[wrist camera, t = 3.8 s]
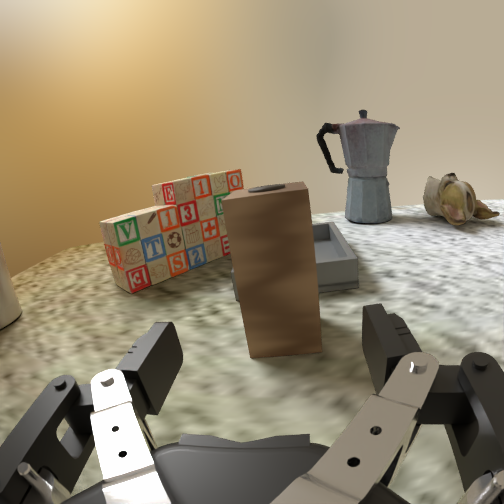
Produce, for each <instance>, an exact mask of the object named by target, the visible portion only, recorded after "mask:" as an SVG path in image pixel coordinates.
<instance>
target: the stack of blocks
mask: <svg viewBox="0 0 504 504" xmlns="http://www.w3.org/2000/svg"><path fill="white" fill-rule="evenodd" d="M152 189H153V195H154V200H155V206H153V207H150V208H146V209H142V210H138V211H134V212H131V213H127V214H124V215H121V216H117V217H114V218H110V219H107V220H104V221H101V222H100V227H101V231H102V235H103V239H104V243H105V244H104V245H105V249H106V253H107V257H108V260H109V264H110V267H111V270H112V274H113V277H114V280H115V283H116V285H118V286H119V287H121V288H123V289H124V290H126V291H127V292H129V293H131V294H132V293H134V292H136V291H139V290H141V289H144V288H146V287H148V286H150V285H154V284H157V283H159V282H162V281H164V280H167V279H169V278H171V277H174V276H176V275H179V274H181V273H184V272H186V271H189V270H191V269H193V268H196V267H198V266H201V265H203V264H205V263H208V262H210V261H213V260H215V259H217V258H220V257H222V256H225V255H228V254H230V248H229V242H228V237H227V231H226V225H225V220H224V214H223V208H222V202H221V200H222V199H224V198H225V197H227V196H228V195H229V194H231V193H232V192H234V191H235V190H242V189H244V188H243V180H242V173H241V169H238V170H231V171H225V172H219V173H213V174H212V173H207V174H201V175H196V176H190V177H187V178H184V179H180V180H175V181H171V182H166V183H161V184H157V185H152Z"/></svg>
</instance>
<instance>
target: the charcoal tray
mask: <svg viewBox="0 0 504 504" xmlns="http://www.w3.org/2000/svg"><path fill="white" fill-rule="evenodd" d="M312 228H313V237H314V247H315V258H316V269H317V281H318V293H319V292H328V291H336V290H344V289H352V288H359V287H358V258H357V257H356V255H355V254H354V252H353V251H352V249H351V247H350V246H349V244H348V243H347V241H346V240H345V238H344V237H343V235H342V234H341V232H340V231H339V229H338V228H337V226H336V225H335V223H334V222H326V223H317V224H312ZM231 277H232V282H233V287H234V292H235V298H236V301H239V297H238V291H237V286H236V281H235V275H234V270H233V269H232V271H231Z"/></svg>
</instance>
